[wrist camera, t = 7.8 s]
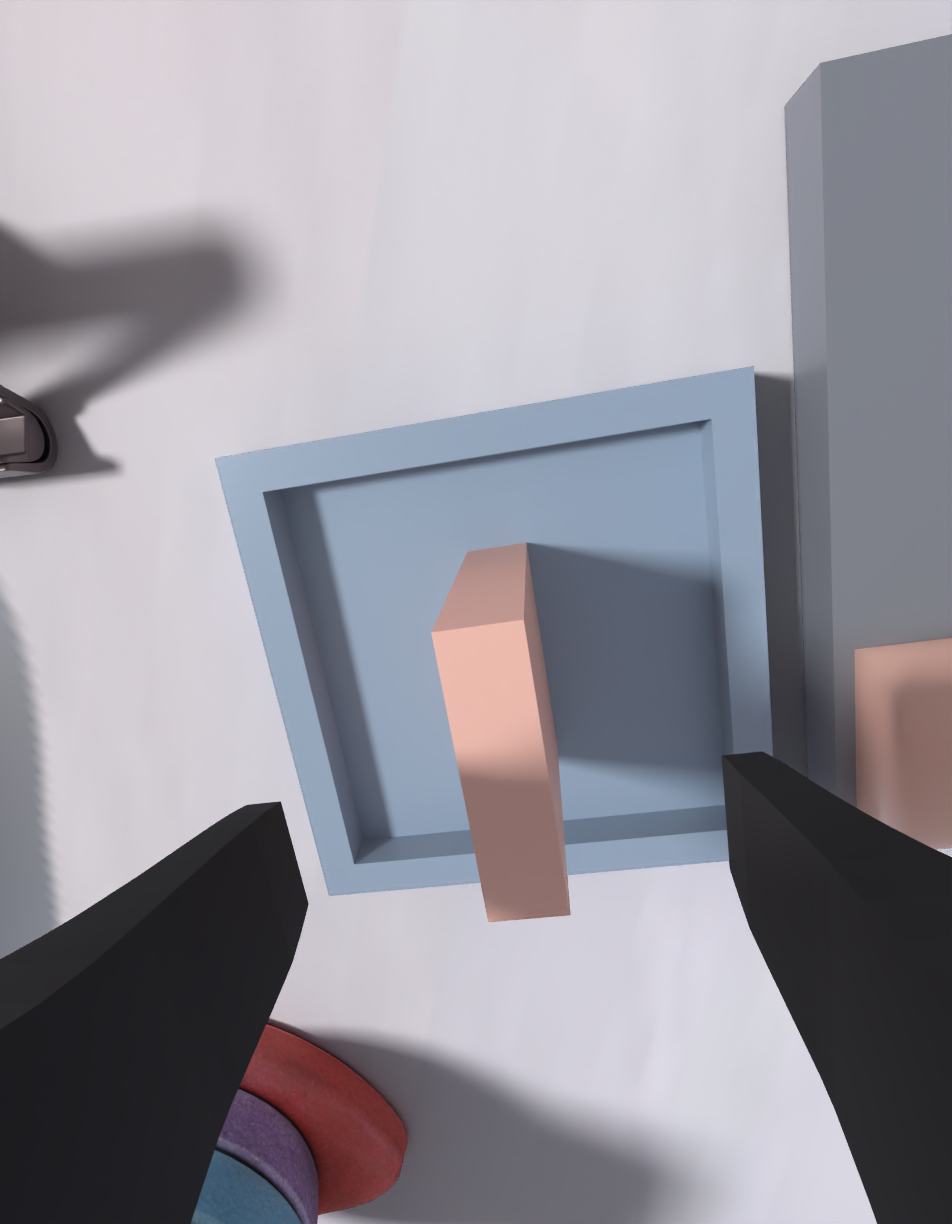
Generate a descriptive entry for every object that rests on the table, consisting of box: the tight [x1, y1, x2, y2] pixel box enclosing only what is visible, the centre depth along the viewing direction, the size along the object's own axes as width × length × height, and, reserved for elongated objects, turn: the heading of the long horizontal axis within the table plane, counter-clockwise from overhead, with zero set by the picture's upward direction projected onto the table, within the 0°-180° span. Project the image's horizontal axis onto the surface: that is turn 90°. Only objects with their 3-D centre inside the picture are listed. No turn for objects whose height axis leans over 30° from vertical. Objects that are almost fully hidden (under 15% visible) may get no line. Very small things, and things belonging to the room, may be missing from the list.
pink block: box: [431, 542, 570, 922], centre depth 16 cm, size 6×2×7 cm, turn 10°
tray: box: [215, 366, 773, 896], centre depth 19 cm, size 13×13×2 cm
